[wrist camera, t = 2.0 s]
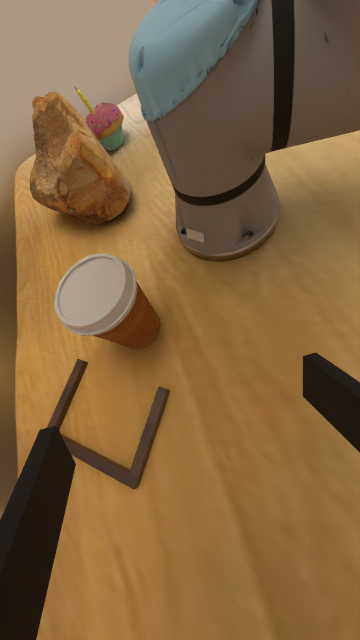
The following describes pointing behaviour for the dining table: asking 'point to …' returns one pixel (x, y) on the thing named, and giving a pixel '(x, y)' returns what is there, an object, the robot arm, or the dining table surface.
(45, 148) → the rough brown rock
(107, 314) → the disposable coffee cup
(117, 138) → the cupcake
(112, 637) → the dining table surface
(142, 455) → the walnut frame
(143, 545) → the dining table surface
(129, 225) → the dining table surface
